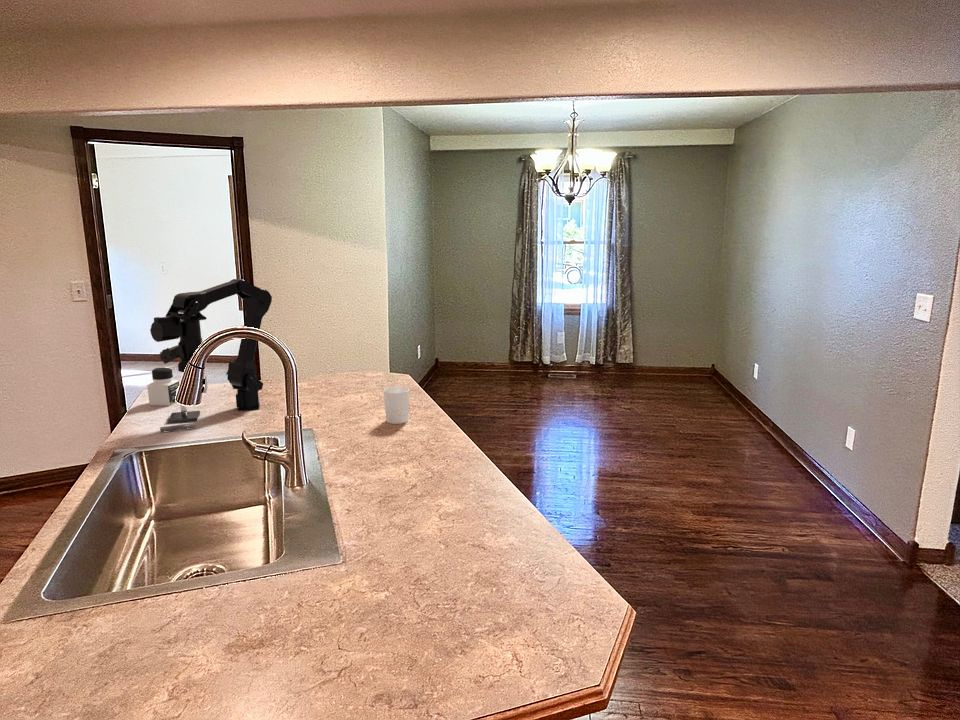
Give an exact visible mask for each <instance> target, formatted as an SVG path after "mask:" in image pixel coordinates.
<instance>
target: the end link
mask: <svg viewBox="0 0 960 720" xmlns="http://www.w3.org/2000/svg"><path fill="white" fill-rule="evenodd" d="M204 377H205V388H204V392H203V393H202V394H207V391H208V378H207V376H204Z"/></svg>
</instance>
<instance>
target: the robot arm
mask: <svg viewBox="0 0 960 720" xmlns="http://www.w3.org/2000/svg"><path fill="white" fill-rule="evenodd" d="M234 295H236V296H238V297H239V298H240V299H242V300H243V308H244V311H245V318H244V323H243V324H244V325H243V327H244V326H247V327H254V328H258V329H260V330H261V325H262V320H263V317H264V316H265V315H266V314H267V313H268V311H269V310H270V306H271V304H272V299H273V297H272V295H271V293H270V292H269V291H268V290H267V289H262V288H260V287H258V286H256V285H253V284H251V283H249V282H248V281H246V280H244V279H241V278H239V279H238V278H234V279H231V280H230V281H227V282H226V281H225V282H223V283H220V284H218V285H215V286H212V287H209V288H206V289H203V290H200V291H190V292H189V291H187V292H180V293H178V294H175V296H174V297H173V300H172V304H171V305H170V306H169V309H168V311H167V312H166V314H165V316H163V317H162V316H156V317H153V322H152V323H151V325H150V329H149V331H150V334H151V337H152V339H153V340H154V341H155V342H157V343H160V342H166V341H172V340H177V339H179V341H178V343H177V345H174V346H172V347H170V348H169V347H167V348H165V349H162V351H160V352H159V353H158V354H159V356H160V360H161V361H162V362H163V364H169V362H171V361H174V360H176V359H179V360H180V361H179V362H178V364H177V368H178V369H177V370H178V372H181V373H183V372H184V369H185V367H186V365H187V363H188V361H189V360H190V358H191V356H192V355H193V353H194V352H195V350H196V349H197V348H198V346H199V345H200V344H201V343H202V344H203V337H202V332H201V331H202V330H201V321H206V320H207V317H206V316H205V315H203V314H202V313H201V312H202V311H204V310H205V309H207V307H208V306H209V305H210V304H213V303H215V302H218V301H221V300H223V299H226V298H229V297H232V296H234ZM257 344H258V340H257V341H252V340H246V339H240V344H239V347H238V353H237V357H236V359H235V360H234V361H233V362H232V361H229V363H228V368H227V372H226V373H225V374H226V375H227V381H228V383H230V385H231V387H232V389H233V390H236V391H237V392H236V394H235V405H236V408H237V411H248V410H251V411H252V410H259V409H260V408H261V407H260V403H261V402H260V398H259V397H260V396H259V391H262V390H263V387H264V382H262V381H261V380H260V379H259V378H257V368H256V364H255V362H254V359H255V355H256V349H257Z"/></svg>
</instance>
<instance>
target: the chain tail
mask: <svg viewBox="0 0 960 720" xmlns="http://www.w3.org/2000/svg"><path fill="white" fill-rule="evenodd" d="M194 427H195V422H192V423H191V422H189V423H185V424H176V425H174V424H173V425H168V426H166V425H165V426H160V427H159V431H160V432H162V433H165V432H164V431H170V432H174V431H178V430H177V429H181V430H183V429H186V430H188V429H187V428H194ZM194 429H195V428H194Z"/></svg>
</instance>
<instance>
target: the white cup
mask: <svg viewBox="0 0 960 720" xmlns="http://www.w3.org/2000/svg"><path fill="white" fill-rule="evenodd" d="M383 401H384V402H383V403H384V411H385V420H386V423H388V424H391V425H392V424H394V425H401V424H406V423H407V422H409V412H410V411H409V410H410V388H409V387H407V386H401V385H397V386H395V385H394V386H387V387H386V388H385V387H384V389H383Z"/></svg>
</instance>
